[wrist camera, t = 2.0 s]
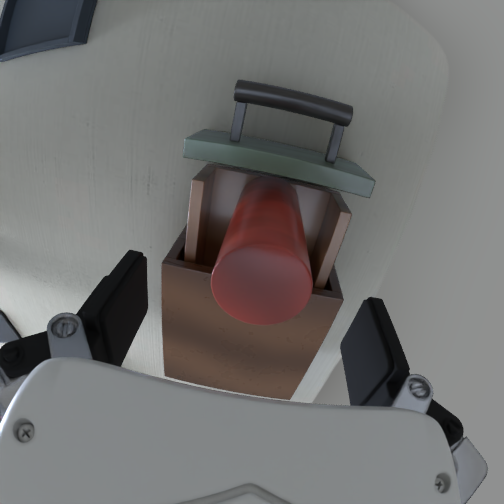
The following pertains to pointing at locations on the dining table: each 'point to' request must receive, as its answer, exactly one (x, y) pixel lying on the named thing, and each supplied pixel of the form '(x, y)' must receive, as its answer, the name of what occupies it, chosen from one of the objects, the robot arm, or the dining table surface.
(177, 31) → the dining table surface
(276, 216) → the red tall cylinder
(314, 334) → the cabinet
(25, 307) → the dining table surface
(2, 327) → the smartphone
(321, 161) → the drawer
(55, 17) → the tray
